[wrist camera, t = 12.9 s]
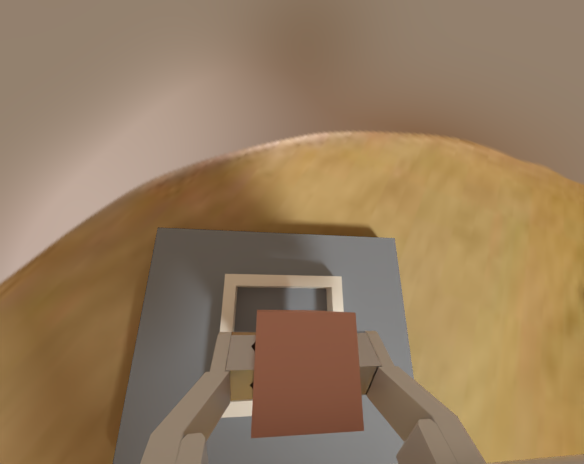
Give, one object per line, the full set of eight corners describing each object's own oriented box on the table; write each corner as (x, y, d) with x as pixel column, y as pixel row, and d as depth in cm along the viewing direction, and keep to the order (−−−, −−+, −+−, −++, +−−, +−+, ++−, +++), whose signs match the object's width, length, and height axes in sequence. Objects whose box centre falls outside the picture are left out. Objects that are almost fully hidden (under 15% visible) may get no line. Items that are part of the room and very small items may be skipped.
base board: (383, 243, 23) (404, 233, 20) (407, 445, 18) (440, 475, 15) (167, 234, 20) (149, 220, 17) (126, 466, 15) (90, 509, 12)
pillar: (309, 310, 16) (355, 312, 9) (310, 369, 15) (364, 430, 8) (257, 309, 16) (256, 312, 8) (254, 370, 15) (250, 438, 7)
